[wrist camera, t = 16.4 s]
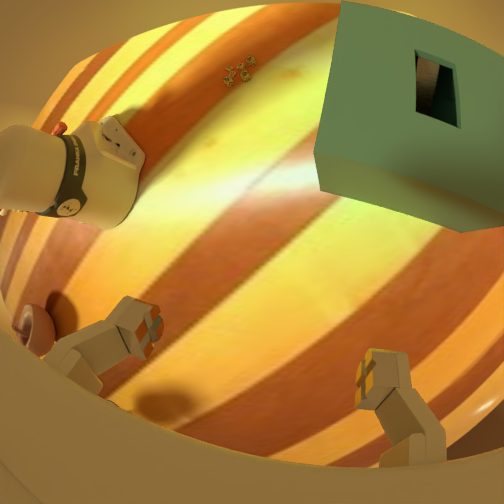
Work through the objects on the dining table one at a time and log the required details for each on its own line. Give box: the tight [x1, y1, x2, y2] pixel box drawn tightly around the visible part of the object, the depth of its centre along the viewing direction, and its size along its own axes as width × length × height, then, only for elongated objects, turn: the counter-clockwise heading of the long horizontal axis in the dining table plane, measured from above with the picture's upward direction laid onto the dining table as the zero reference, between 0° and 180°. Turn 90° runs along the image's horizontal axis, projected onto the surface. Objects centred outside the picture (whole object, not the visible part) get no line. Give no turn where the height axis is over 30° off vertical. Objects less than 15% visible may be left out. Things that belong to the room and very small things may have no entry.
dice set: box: [223, 56, 256, 87], centre depth 36 cm, size 5×5×2 cm
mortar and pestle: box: [11, 304, 55, 357], centre depth 44 cm, size 12×12×11 cm
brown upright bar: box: [415, 56, 440, 116], centre depth 23 cm, size 5×2×10 cm
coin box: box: [313, 1, 504, 233], centre depth 23 cm, size 20×20×14 cm
